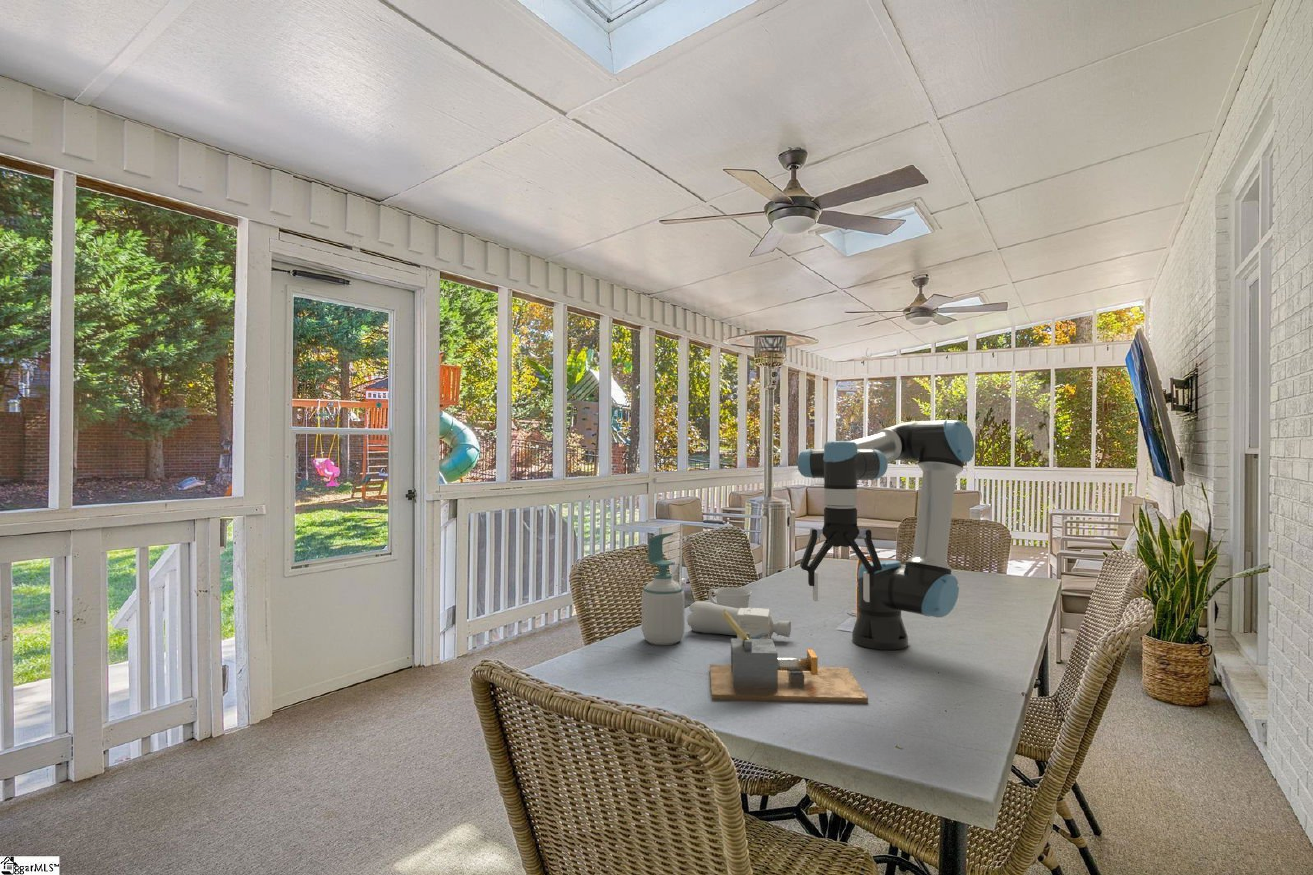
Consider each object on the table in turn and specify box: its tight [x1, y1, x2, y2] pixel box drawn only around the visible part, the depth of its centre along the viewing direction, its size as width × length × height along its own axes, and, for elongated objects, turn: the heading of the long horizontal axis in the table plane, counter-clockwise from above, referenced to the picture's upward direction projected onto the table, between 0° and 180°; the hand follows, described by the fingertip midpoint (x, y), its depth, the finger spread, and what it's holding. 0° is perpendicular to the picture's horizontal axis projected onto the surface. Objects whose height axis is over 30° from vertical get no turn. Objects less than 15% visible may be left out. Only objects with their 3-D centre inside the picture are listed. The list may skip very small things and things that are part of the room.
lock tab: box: [722, 609, 749, 641], centre depth 157 cm, size 9×4×1 cm
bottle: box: [686, 600, 792, 639], centre depth 198 cm, size 9×9×30 cm
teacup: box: [707, 586, 753, 609], centre depth 213 cm, size 12×15×10 cm
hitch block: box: [709, 632, 869, 704], centre depth 157 cm, size 34×20×11 cm, turn 87°
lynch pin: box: [778, 649, 819, 675], centre depth 157 cm, size 13×6×4 cm, turn 87°
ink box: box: [736, 607, 770, 639], centre depth 180 cm, size 9×8×12 cm
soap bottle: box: [641, 532, 686, 646], centre depth 192 cm, size 12×12×31 cm
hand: (840, 600), depth 156 cm, fingers open, 11 cm apart
